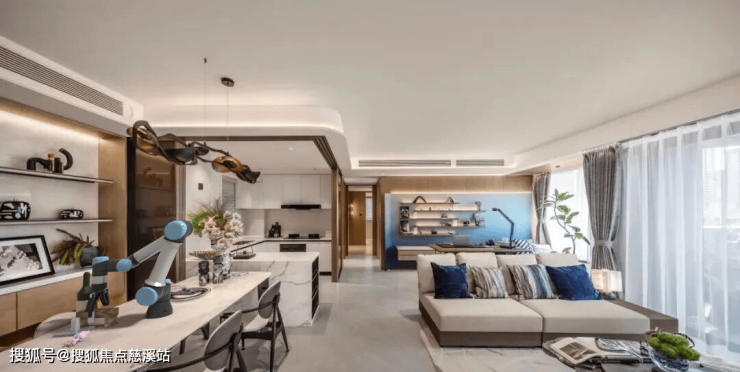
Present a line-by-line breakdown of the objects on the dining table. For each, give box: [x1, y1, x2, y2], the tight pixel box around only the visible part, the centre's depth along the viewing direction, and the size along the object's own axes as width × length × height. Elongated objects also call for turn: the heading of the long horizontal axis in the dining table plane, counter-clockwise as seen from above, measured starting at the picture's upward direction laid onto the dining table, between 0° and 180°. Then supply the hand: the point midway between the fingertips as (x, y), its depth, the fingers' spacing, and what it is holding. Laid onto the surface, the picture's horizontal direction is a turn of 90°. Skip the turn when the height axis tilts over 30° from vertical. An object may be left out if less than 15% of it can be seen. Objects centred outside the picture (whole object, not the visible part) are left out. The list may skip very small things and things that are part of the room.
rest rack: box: [80, 315, 119, 328], centre depth 188 cm, size 18×7×5 cm, turn 100°
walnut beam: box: [75, 306, 120, 320], centre depth 188 cm, size 20×5×4 cm, turn 100°
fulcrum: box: [52, 317, 97, 338], centre depth 177 cm, size 14×11×8 cm
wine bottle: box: [75, 271, 93, 313], centre depth 202 cm, size 8×8×30 cm
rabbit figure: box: [63, 331, 91, 348], centre depth 164 cm, size 6×6×15 cm
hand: (97, 319), depth 188 cm, fingers open, 11 cm apart
